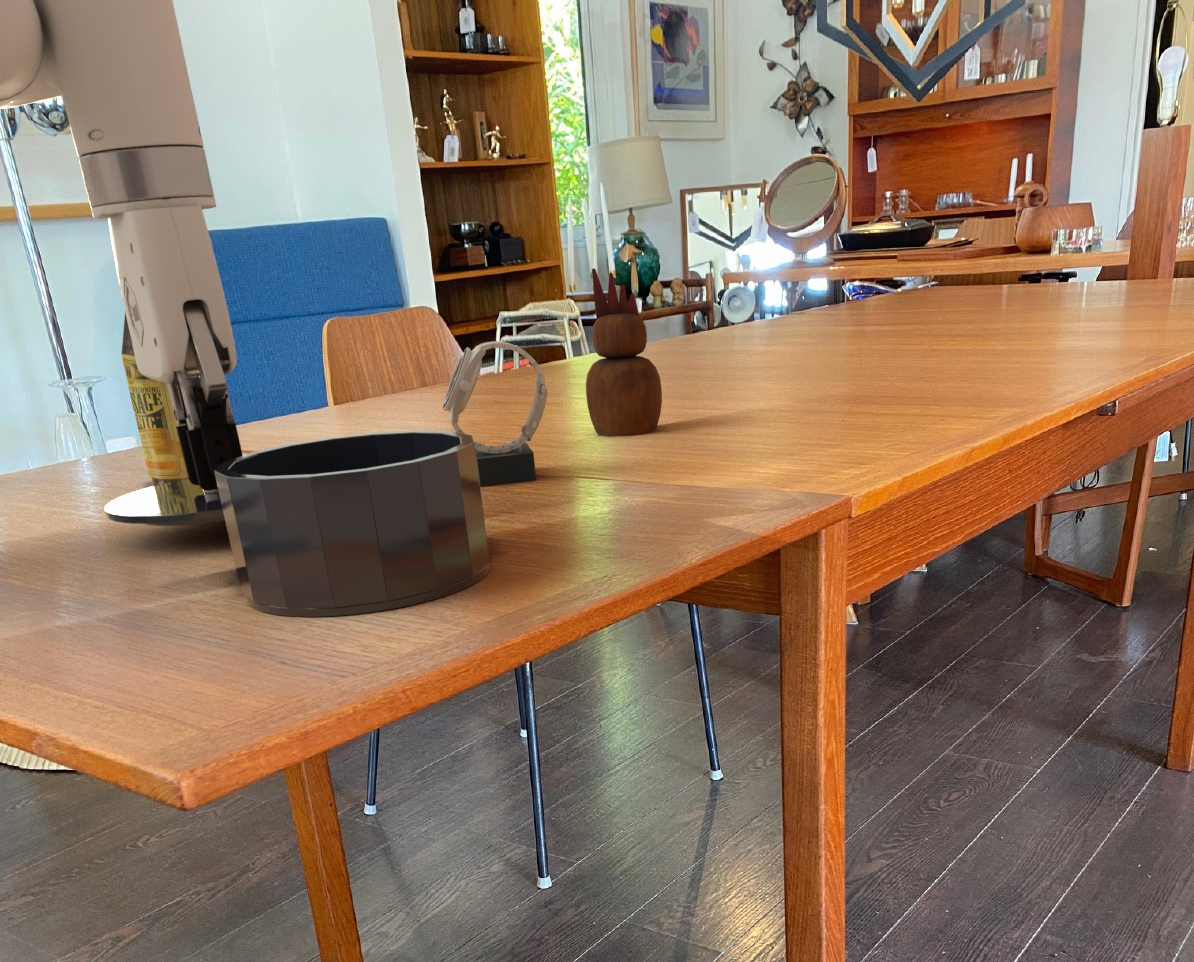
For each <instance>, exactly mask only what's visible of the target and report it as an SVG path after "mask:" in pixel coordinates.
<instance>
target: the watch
mask: <svg viewBox="0 0 1194 962" xmlns="http://www.w3.org/2000/svg"><path fill="white" fill-rule="evenodd" d="M491 349H505V350H511V351H513V352H516V353H518V354H520V355H521V356H523V357H524V358H525V359H526V360H527V361H528V362H529V363H530V364H531V366H532V368H533V370H534V372H535V373H536V377H537V379H536V380H535V390H534V395H533V400H532V403H531V407H530V410H529V412H528V415H527V418H526V420H525V422H524V424H523V425H522V426H521V429H520V431H521V434H520V435H518V438H515V439H513V440H512V441H509V443H504V444H499V445H492V444H491V445H490V444H489V445H486V444H484V443H481V442H476V441H475V440H474V443H475V450H476V458H477V465H478V473H479V481H480V488H483V487H484V488H485V487H486V488H487V487H494V486H501V485H502V486H503V485H511V484H521V483H529V482H535V481H537V473H536V465H535V455H534V451H533V450H532V448H531V447H530V446H529V444H528V443H527V442H530V441H532V439H533V438H534V435H535V434H536V432H537V430H538V427H539V425H540V423H541V421H542V419H543V415H544V412H545V408H546V404H547V399H548V389H547V386H546V385H547V384H546V379H545V375H544V374H543V371H542V369H541V367H540V365H539V363H538V362H537V361H536V360H535V359H534V358H533V356H532V355H531V354H529V353H528V352H527V351H526V350H524V349H523V348H521V347H520V346H518V345H515V344H513V343H510V342H507V341H498V340H496V341H495V340H494V341H485V342H481V343H479V344H478V345H476V346H475V347H474V348H473V349H472V350H471V348H470V347H466V348H465V349H464V351H463V352H462V354H461V356H460V358H459V359H458V362H457V365H456V366H455V369H454V371H453V374H452V375H451V376H452V377H451V379H450V381H449V383H448V387H447V390H446V393H445V397H444V399H443V405H442V411H444V412H448V417H449V421H450V423H451V425H452V427H453V430H454V432H458V433H463V434H466V433H465V432H464V431H463V430H462V429H461V428H460V426H459V425H458V424H459V419H460V415H461V414H462V413H463V412H464V410H465V409H466V407H467V405H468V403H469V401H470V399H471V397H472V394H473V392H474V389H475V387H476V384H477V381H478V379H479V376H480V374H481V373H480V372H481V369H482V364H483V357H484V356H485V355H486V352H487V350H491Z"/></svg>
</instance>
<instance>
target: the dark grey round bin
mask: <svg viewBox="0 0 1194 962" xmlns="http://www.w3.org/2000/svg"><path fill="white" fill-rule="evenodd" d="M474 441H475V439H474V436H473V435H472V434H468V433H465V434H463V433H458V432H456V431H452V430H421V429H420V430H401V431H398V430H397V431H382V432H371V433H370V432H369V433H361V434H352V435H351V434H350V435H342V436H333V437H325V438H320V439H314V440H306V441H302V442H295V443H288V444H283V445H279V446H275V447H270V448H266V449H261V450H256V451H253V452H249V453H246V454H243V456H240V457H237V458H234V459H232V460H229V461H226V462H223V463H222V464H221V465H220V466H219V467H218V468H217V469H216V470H215V471H214V473H215V477H216V482H217V486H218V491H219V495H220V500H221V504H222V509H223V513H224V518H225V521H224V522H225V526H226V531H227V536H228V539H229V540H228V541H229V545H230V547H231V548H230V549H231V553H232V558H233V563H234V567H235V572H236V575H237V579H238V584H239V589H240V593H241V594H243V595H244V600H245V603H246V604H247V605H248V607H250V608H252V609H254V610H256V611H260V612H262V613H267V614H270V615H277V616H285V617H299V618H301V617H302V618H304V617H305V618H307V617H308V618H315V617H316V618H320V617H323V618H324V617H339V616H340V617H341V616H351V615H352V616H353V615H362V614H363V615H364V614H370V613H377V612H383V611H388V610H394V609H395V610H396V609H399V608H404V607H409V606H415V605H418V604H422V603H426V602H430V601H433V600H436V599H441V598H443V597H447V596H450V595H452V594H455V593H457V592H461V591H462V590H465V589H467V588H469V587H471V586H472V585H474V584H476V583H478V582H479V581H481V580H482V579H483V578H484V577H485V576H486V575H488V572H490V570H491V569H490V567H491V564H490V562H491V561H490V554H489V553H490V551H489V545H488V544H489V543H488V537H487V530H486V529H487V527H486V523H485V522H486V521H485V512H484V505H483V497H482V490H481V487H480V481H479V473H478V465H477V458H476V450H475V443H474Z"/></svg>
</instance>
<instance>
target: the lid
mask: <svg viewBox="0 0 1194 962" xmlns="http://www.w3.org/2000/svg"><path fill="white" fill-rule="evenodd" d="M186 421H187V426H188V430H191V427H190V424H189V420H188V417H187V418H186ZM103 510H104V511H103V512H104V514H105V515H104V516H105V517H106V519H108V520H109V521H112V522H117V523H121V524H133V525H134V524H135V525H148V526H155V527H157V526H158V527H180V526H181V527H182V526H194V525H205V524H213V523H220V522H225V518H224V513H223V509H222V504H221V500H220V495H219V491H218V489H215V490H209V491H206V490H203V489H202V488H201V487H200V486H199V485H194V484H192V483H191V482H190V481H189V479H184V480H180V481H175V482H170V483H166V484H161V485H157V486H153V485H152V486H149V487H146V488H142V489H139V490H136V491H132V492H130V493H126V494H124V495H121V496H119V497H117V498H115V499H113V500H111V501H110V502H108V503H107V504H106V505H105V506H104V509H103Z"/></svg>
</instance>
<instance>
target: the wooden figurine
mask: <svg viewBox="0 0 1194 962" xmlns="http://www.w3.org/2000/svg"><path fill="white" fill-rule="evenodd" d="M591 276H592V277H591V278H592V288H593V299H594V307H595V308H594V309H595V317H596V320H595V322H594V323H593V327H592V331H591V339H592V345H593V348H594V351H595V353H596V354H597V355H598V356H599V357H602V358H600V359H598V360H596V361H594V362H593V363H592V364H591V365H590V368H589V370H588V371H587V374H586V380H585V397H586V405H587V409H588V414H589V418H590V421H591V424H592V427H593V429H594V431H595V433H596V435H597V436H598V437H601V436H602V437H630V436H639V435H644V434H649V433H653V432H654V431H656V430H657V427H658V424H659V422H660V417H661V413H662V405H663V394H662V393H663V391H662V383H661V376H660V374H659V371H658V369H657V366H656V365H655V364H654V363H653V362H652V361H651V359H650V358H646V357H645V356H641V354H642V353H644V351H645V349H646V347H647V343H648V334H647V333H648V332H647V326H646V324H645V322H644V319H643V318H642V317H641V316H640V313H639V308H638V303H637V298H636V296H635V294H634V293H630V295H629V298H628V295H627V290H626V286H625V284H621V286H620V289H619V290H620V291H619V298H618V293H617V287H616V283H615V278H614V277H615V276H614V273H613V272H609V274H608V285H607V286H608V287H607V299H606V296H605V295H606V294H605V291H604V289H603V287H602V284H601V281H600V278H599V275H598V272H597V269H596V268H591Z"/></svg>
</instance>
